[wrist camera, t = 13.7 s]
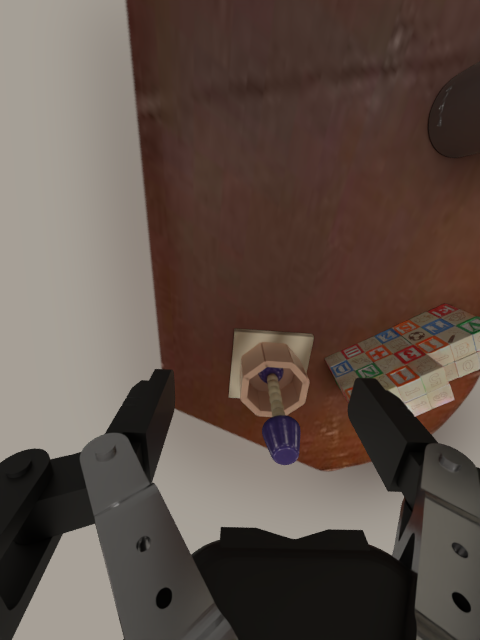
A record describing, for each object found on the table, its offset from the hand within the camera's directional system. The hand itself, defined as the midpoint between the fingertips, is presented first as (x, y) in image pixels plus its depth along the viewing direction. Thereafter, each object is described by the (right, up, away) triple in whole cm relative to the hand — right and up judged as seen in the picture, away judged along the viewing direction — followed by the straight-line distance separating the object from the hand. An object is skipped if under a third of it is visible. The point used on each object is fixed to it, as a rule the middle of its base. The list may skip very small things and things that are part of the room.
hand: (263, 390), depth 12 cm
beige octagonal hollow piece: (+4, -5, +34) cm, 34 cm away
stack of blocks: (+24, -1, +34) cm, 42 cm away
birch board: (+4, -5, +35) cm, 35 cm away
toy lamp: (+4, -5, +33) cm, 34 cm away
